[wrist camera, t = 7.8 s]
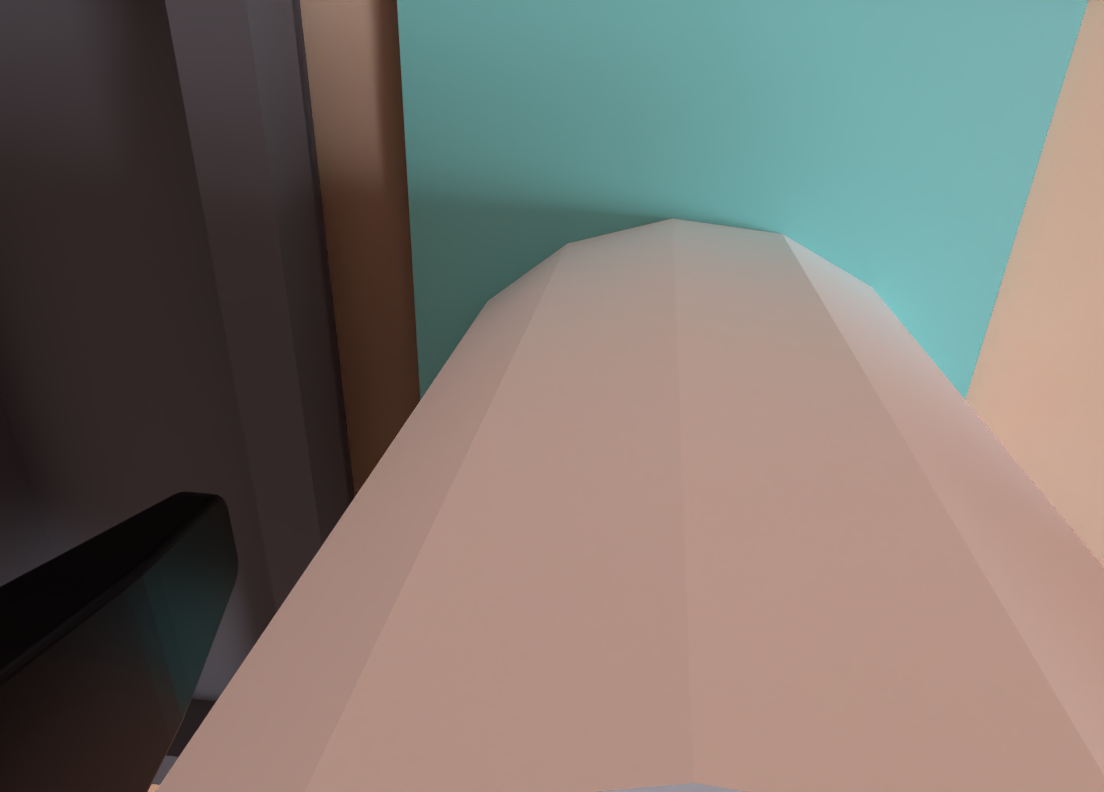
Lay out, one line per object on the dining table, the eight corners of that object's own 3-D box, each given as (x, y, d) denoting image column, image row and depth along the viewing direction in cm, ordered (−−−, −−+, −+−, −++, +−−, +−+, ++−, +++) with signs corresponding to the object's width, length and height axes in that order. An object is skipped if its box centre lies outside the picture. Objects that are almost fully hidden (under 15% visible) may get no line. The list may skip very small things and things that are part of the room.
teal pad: (838, 789, 13) (841, 801, 13) (443, 745, 14) (441, 756, 13) (1126, -160, 7) (1138, -160, 7) (392, -180, 8) (386, -180, 7)
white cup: (280, 457, 11) (-193, 1170, 5) (668, -5, 8) (690, 386, 2) (682, 733, 13) (701, 1509, 7) (1129, 446, 10) (1926, 1411, 4)
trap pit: (380, 738, 14) (357, 807, 13) (75, 704, 14) (30, 769, 13) (280, -181, 8) (218, -192, 7) (-254, -196, 8) (-388, -206, 7)
